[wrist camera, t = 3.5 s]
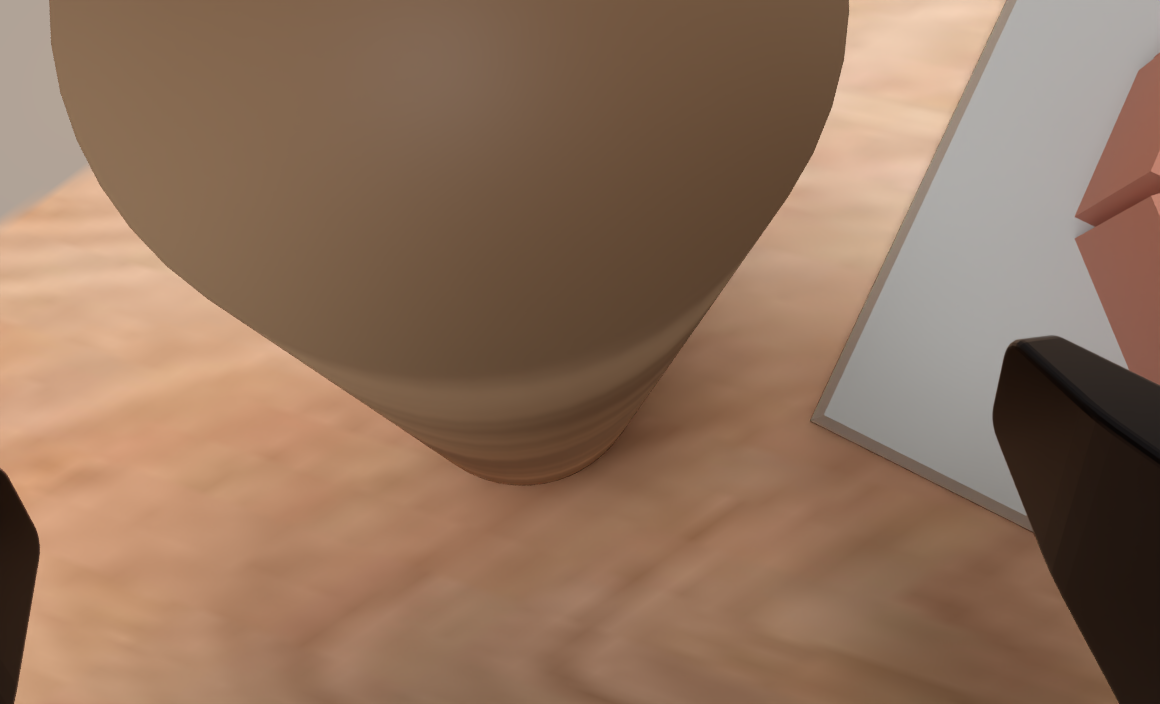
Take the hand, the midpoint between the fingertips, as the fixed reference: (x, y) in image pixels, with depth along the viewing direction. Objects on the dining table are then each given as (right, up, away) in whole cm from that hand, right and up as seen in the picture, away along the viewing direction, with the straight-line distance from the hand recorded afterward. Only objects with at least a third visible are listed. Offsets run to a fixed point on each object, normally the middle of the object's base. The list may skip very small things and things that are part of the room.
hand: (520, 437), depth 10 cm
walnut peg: (0, +1, +10) cm, 10 cm away
